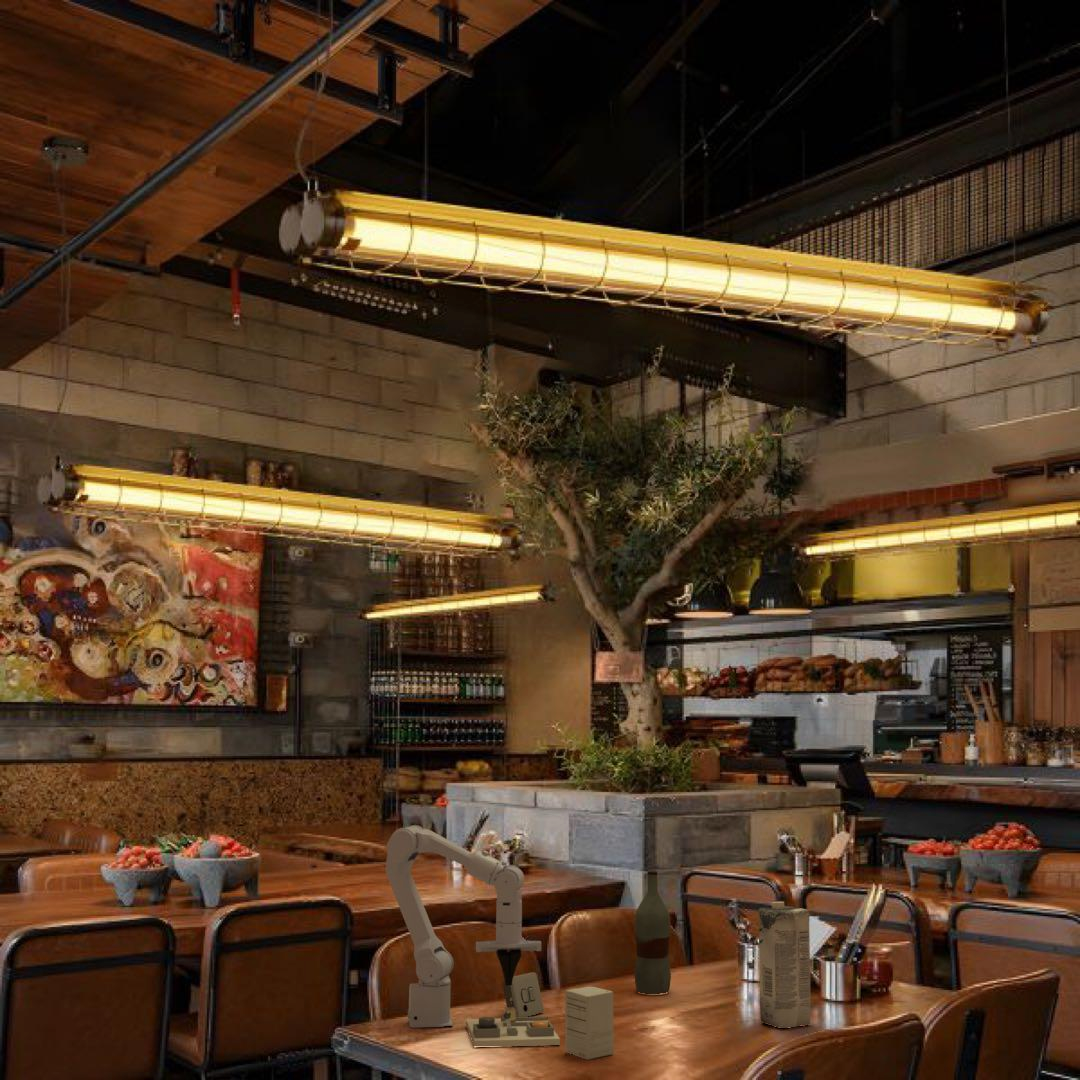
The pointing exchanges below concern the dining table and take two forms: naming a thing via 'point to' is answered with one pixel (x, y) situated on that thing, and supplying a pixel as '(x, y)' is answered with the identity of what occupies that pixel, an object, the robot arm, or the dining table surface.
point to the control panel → (513, 1033)
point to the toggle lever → (508, 1020)
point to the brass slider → (512, 1012)
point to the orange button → (539, 1024)
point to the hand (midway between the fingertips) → (508, 984)
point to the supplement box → (589, 1022)
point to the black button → (486, 1022)
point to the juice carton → (784, 965)
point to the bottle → (652, 941)
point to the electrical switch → (524, 995)
